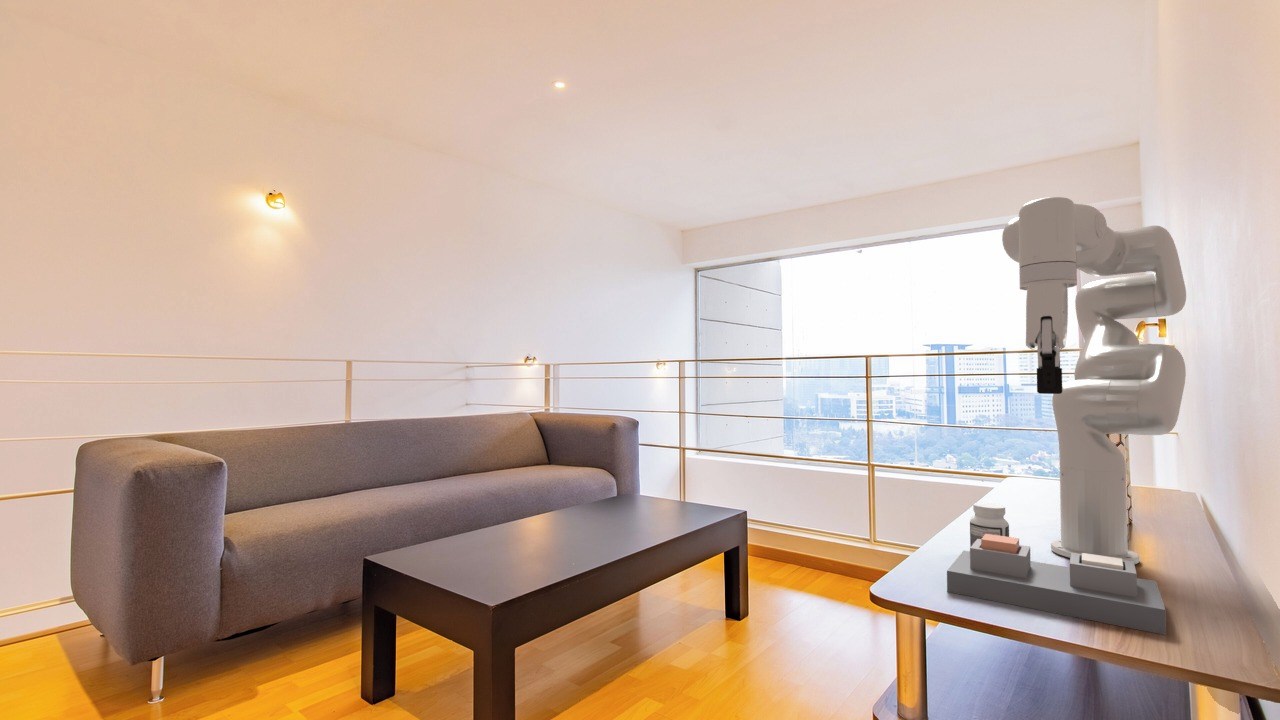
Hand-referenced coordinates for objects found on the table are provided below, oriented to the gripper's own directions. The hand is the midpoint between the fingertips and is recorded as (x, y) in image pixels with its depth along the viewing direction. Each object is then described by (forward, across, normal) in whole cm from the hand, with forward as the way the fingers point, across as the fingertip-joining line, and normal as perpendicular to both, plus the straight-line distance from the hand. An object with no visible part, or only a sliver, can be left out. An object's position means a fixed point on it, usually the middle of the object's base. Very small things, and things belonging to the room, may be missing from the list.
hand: (1049, 393), depth 93 cm
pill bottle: (+29, -4, -9) cm, 31 cm away
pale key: (+26, +9, +6) cm, 28 cm away
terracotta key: (+25, +9, -6) cm, 27 cm away
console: (+29, +9, 0) cm, 30 cm away
